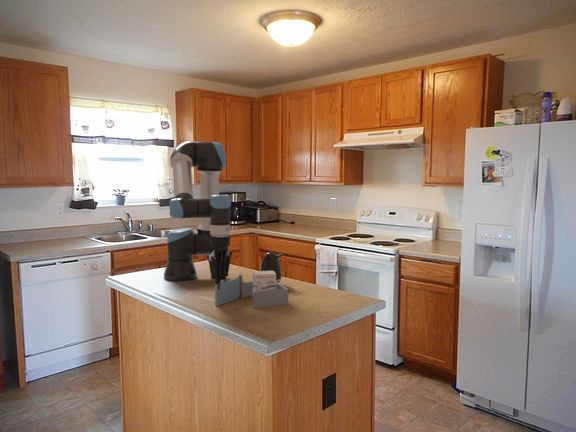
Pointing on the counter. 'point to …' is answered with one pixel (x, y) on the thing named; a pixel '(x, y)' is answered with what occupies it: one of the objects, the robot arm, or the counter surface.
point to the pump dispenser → (272, 264)
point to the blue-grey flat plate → (227, 291)
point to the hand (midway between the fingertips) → (219, 296)
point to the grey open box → (265, 295)
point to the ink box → (264, 281)
